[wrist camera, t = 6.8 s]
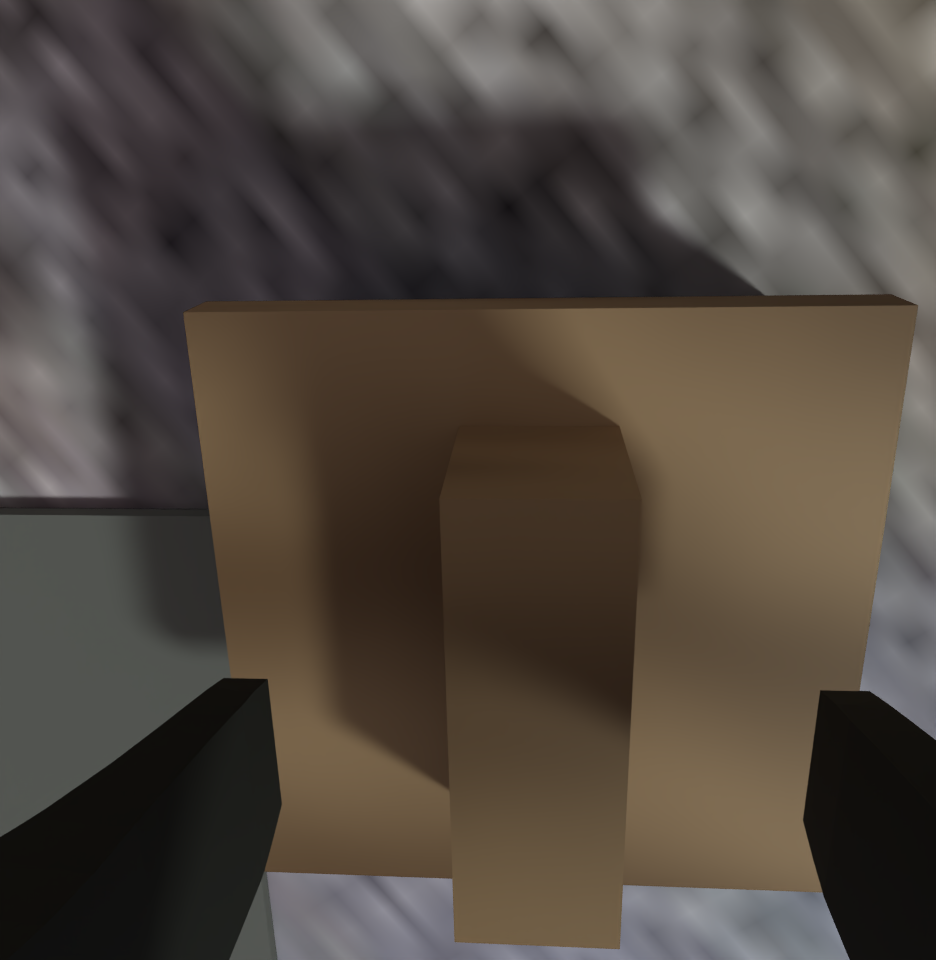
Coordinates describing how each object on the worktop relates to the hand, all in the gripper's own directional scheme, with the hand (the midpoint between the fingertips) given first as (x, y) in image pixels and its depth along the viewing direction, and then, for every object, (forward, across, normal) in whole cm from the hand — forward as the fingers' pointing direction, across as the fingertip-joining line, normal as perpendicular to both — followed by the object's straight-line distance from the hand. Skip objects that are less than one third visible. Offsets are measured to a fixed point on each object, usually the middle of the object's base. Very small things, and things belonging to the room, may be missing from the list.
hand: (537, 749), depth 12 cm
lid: (+4, 0, 0) cm, 4 cm away
